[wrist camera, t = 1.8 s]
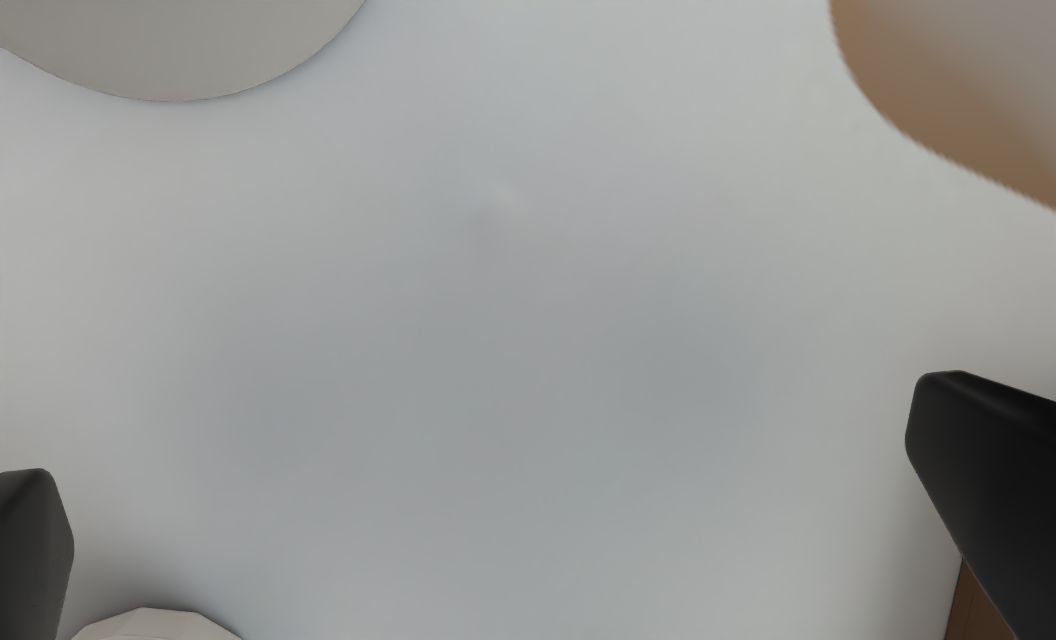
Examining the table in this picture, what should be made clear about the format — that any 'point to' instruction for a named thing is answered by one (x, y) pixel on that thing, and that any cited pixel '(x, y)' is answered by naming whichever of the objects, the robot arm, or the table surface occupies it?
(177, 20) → the cylinder vase
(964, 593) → the tray
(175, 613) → the white cup
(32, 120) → the table surface
